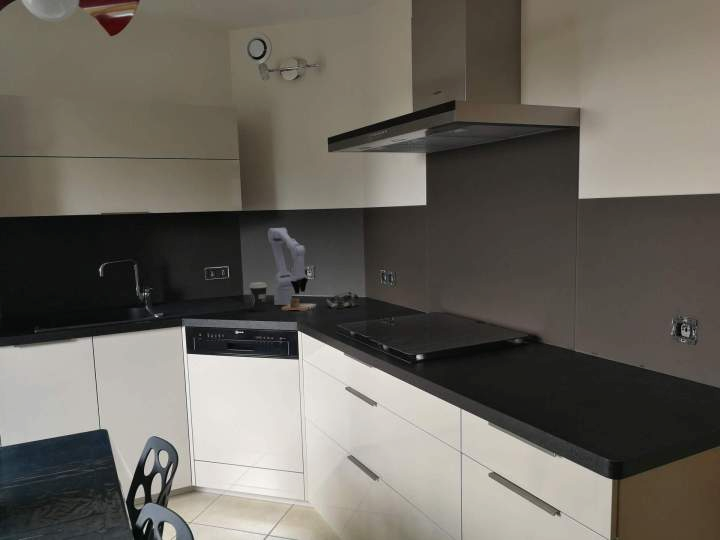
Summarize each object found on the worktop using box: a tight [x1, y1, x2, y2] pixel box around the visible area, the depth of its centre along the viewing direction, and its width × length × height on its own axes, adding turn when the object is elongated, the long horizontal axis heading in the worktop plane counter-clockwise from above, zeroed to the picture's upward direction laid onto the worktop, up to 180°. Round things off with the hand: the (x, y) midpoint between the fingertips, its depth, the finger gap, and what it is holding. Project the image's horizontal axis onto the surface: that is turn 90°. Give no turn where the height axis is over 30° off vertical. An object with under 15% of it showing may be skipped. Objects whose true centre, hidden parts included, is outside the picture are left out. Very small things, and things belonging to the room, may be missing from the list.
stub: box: [281, 297, 309, 312], centre depth 306 cm, size 14×5×6 cm, turn 72°
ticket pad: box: [286, 303, 317, 310], centre depth 314 cm, size 14×9×2 cm, turn 72°
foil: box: [326, 291, 360, 309], centre depth 312 cm, size 12×11×15 cm
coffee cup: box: [248, 281, 268, 313], centre depth 307 cm, size 10×10×15 cm
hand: (300, 292), depth 312 cm, fingers open, 7 cm apart
